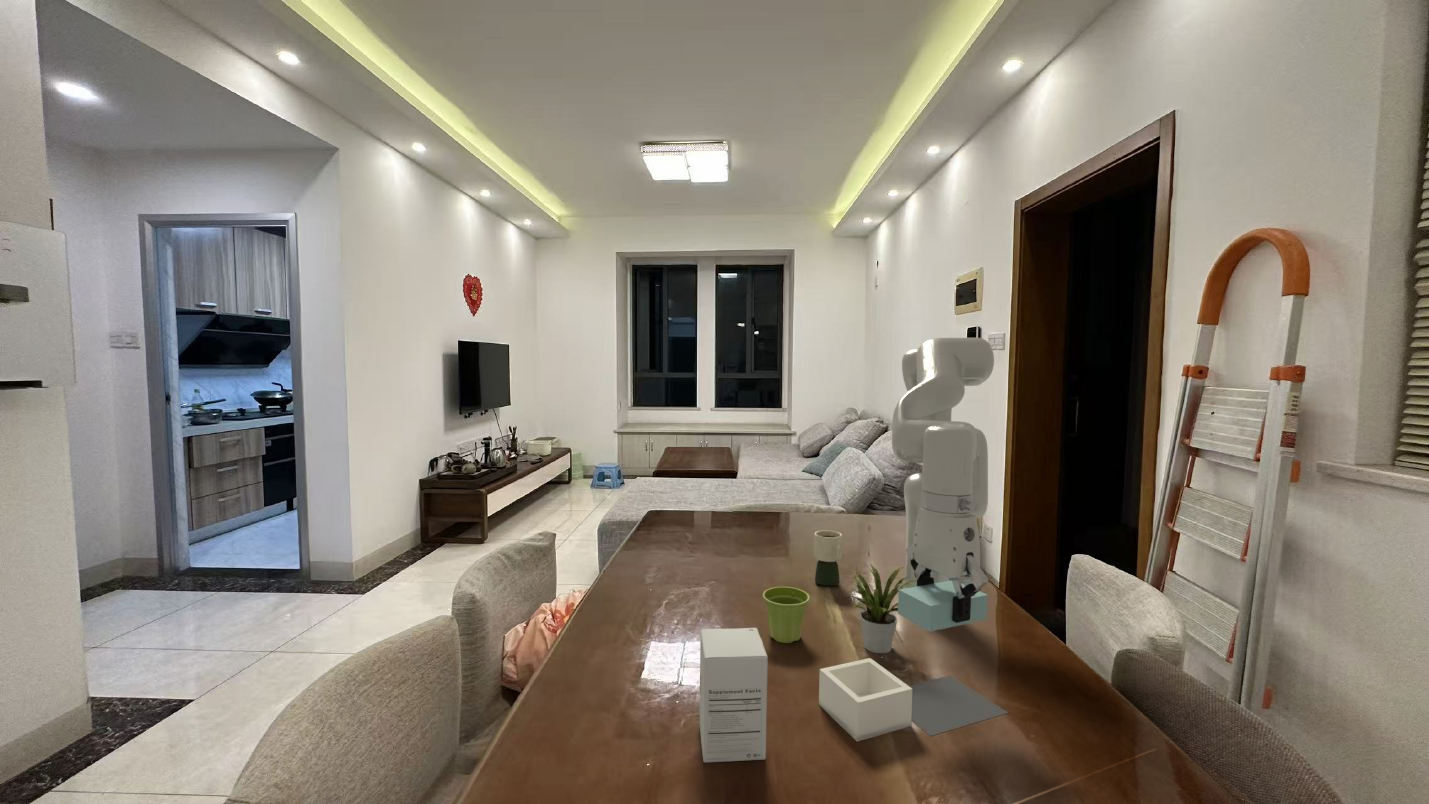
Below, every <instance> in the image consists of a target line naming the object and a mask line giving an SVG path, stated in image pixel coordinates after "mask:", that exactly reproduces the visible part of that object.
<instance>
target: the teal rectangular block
mask: <svg viewBox="0 0 1429 804" xmlns="http://www.w3.org/2000/svg"><path fill="white" fill-rule="evenodd" d="M961 585H962V588H964V587H965V586H964V583H963V582H961ZM898 589H899V588H898ZM897 594H898V597H897V601H898V606H897V608H898V611H897V614H898V615H899V616H901V617H903V618H905V619H906V620H908V621H910V622H912V623H913V624H915V625H917V626H918V627H920V628H923V629H924V630H926V631H927V632H929V633H931V632H935V631H940V630H945V629H948V628H953V627H954V628H955V627H958V626H963V625H968V624H972V623H976V622H981V621H986V620H988V607H989V604H988V602H989V594H987V593H985V592H982V591H981V590H980V591H979V592H977V593H976V594H975V596H972V597H971V613H970V620H968V621H963V622H958V623H955V622H954V621H953V620H952V614H953V597H954V596H957V595H956V592H955V589H954V586H953V583H952V580H949V581H945V582H940V583H934V584H929V585H923V586H916V587H911V588H905V587H904V588H903V589H899V591H898V593H897Z"/></svg>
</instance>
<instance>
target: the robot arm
mask: <svg viewBox="0 0 1429 804" xmlns="http://www.w3.org/2000/svg"><path fill="white" fill-rule="evenodd" d="M993 350H994V349H993V347H992V346H991V344H990V342H988V341H987V340H986V339H985V338H980V337H935V338H932V339H931V338H930V339H928V340H926V341H925V342H923V343H922V344H921V345H920V346H919V348H913V349H910V350H908V351H906V352H905V353H904V354H903V357H902V360H901V361H902V362H901V372H902V377H903V382H904V385H905V389H906V391H907V392H906V393H905V394H903V396H902V397H901V398H900V399H899V400H898V402H897V403H896V406H895V407H894V411H893V414H892V427H891V448H892V451H893V453H894V454H893V455H894V456H895V457H896V458H897V459H898V460H900V461H901V462H905V463H916V464H917V465H919V466H922V471H921V472H915V473H912V474H911V475H910V476H907V478H906V479H905V482H904V484H903V496H904V497H903V498H904V505H905V517H906V537H905V539H906V541H905V542H906V543H905V546H906V547H905V567H904V568H905V569H904V570H905V572H904V578H906V579H904V583H906V582H908V581H914V580H916V581H917V582H913V583H910V584H908V585H906V586H904V589H905V588H911V587H916V586H923V585H929V584H934V583H940V582H945V581H951V580H952V583H953V586H954V589H955V592H956V595H957V596H954V597H953V614H952V620H953V621H954V622H955V623H958V622H963V621H968V620H970V613H971V597H972V596H975V594H976V593H977V592H979V591H980V592H981V590H982V588H984V587H985V586H986V585H987V583H989V579H988V577H987V575H986V574H985V572H984V571H983V569H982V568H981V546H980V545H981V543H980V533H979V526H978V521H977V520H978V519H981V518H982V517H984V516H985V514H986V513H987V511H988V502H989V454H988V453H989V451H988V450H989V449H988V442H987V437H986V436H985V433H984V432H983V431H982V430H981V429H979V428H977V427H975V426H974V425H973V424H972V423H969V422H966V421H956V420H952V409H953V408H955V407H956V406H957V405H959V404H960V403H961V401H962V400H963V398H964V395H965V393H966V392H965V391H966V389H965V387H973V386H980V385H982V383H984V382H985V381H987V380H988V379H989V378H990V377H991V375H992V373H993V370H994V365H995V356H994V351H993ZM971 577H972V579H971ZM950 579H951V580H950ZM962 581H963V582H962ZM961 583H963V584H964V586H965V587H964V588H962V585H961ZM896 603H898V600H897V602H896Z"/></svg>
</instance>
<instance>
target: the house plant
mask: <svg viewBox="0 0 1429 804" xmlns="http://www.w3.org/2000/svg"><path fill="white" fill-rule="evenodd" d="M869 565H870V567H871V568H870V567H869V566H867V565H866V567H867V568H868V569H869V571H870V572H871V573H872V576H873V577H874V585H875V589H873V593H872V591H871V588H870V586H869V584H868V582H867V581H866V579H865V578H864V577H863V575H861V574H860V573H859V572H858V571H857V570H855V569H853V568H851V570H852V571H853V572H854V573H855V574H856V575H855V580H856V581H855V583H856V588H857V590H856V591H854V592H853V594H855V593H857V594H859V595H861V597H858V596H855V595H850V597H852V598H853V599H855V600H857V601H859V602H860V603H861V604H863V605H865V607H863V606H862V605H860V604H855V605H854V606H853V608H857V609H862V610H863V611H861V612H860V614H859V619H860V620H859V621H860V627H861V634H862V642H863V647H864V649H866V650H867V651H869V652H870V653H874V654H887V653H890V652H891V651H892V647H893V642H894V637H895V633H896V627H897V623H898V618H897V616H896V615H895V614H894V613H892V612H898V603H897V602H896V603H895V604H893V605H892V607H891V608H890V606H891V603H892V602H893V599H894V598H895V596H896V595H897V594H898V593H899V589H904V588H905V586H906V585H908V584H910V583H913V582H917V581H916V580H914V581H908V582H906V583H905V582H904V581H905V579H906V578H905V577H903V578H900V580H898V582H897V583H896V584H895V585H894V587H893V588H892V589H891V591H890V588H891V586H892V584H893V581H894V580H895V579H897V575H899V573H900V571H901V570H903V569H904V568H905V567H900V568H897V569H895V570H894V571H893V572H892V573H891V574H890V576H889V577H888V579H887V581H886V583H885V588H884V590H883V588H882V581H881V575H880V573H879V570H878V569H877V568H876V567H874V565H873V564H871V563H869ZM850 581H852V582H853V579H850ZM889 591H890V592H889ZM865 608H866V609H865ZM889 608H890V609H889Z"/></svg>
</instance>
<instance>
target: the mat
mask: <svg viewBox="0 0 1429 804" xmlns="http://www.w3.org/2000/svg"><path fill="white" fill-rule="evenodd" d="M908 686H909V687H911V688H912V714H911V723H913V724H914V725H916V726H917V727H918V728H920V729H921V731H923V732H925V733H926V734H927V735H929V736H930V737H933V736H937V735H939V734H943V733H946V732H950V731H953V730H956V729H960V728H963V727H966V726H969V725H973V724H977V723H980V722H983V721H986V720H989V719H993V718H995V717H996V718H997V717H1000V716H1003V715H1006V714H1009V712H1008V711H1006V710H1005V709H1004V708H1002V707H1000V706H999V705H997V704H996V703H994V702H993V701H991V700H990V699H988V698H986V697H985V696H983V695H982V694H981V693H978V692H977V691H975V690H974V689H972V688H971V687H969V686H968V685H966V684H964V683H963V682H962V681H960V680H958V679H957V678H956V677H954V676H952V675H946V676H942V677H938V678H935V679H934V678H933V679H930V680H927V681H922V682H919V683H914V684H909V685H908Z"/></svg>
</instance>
